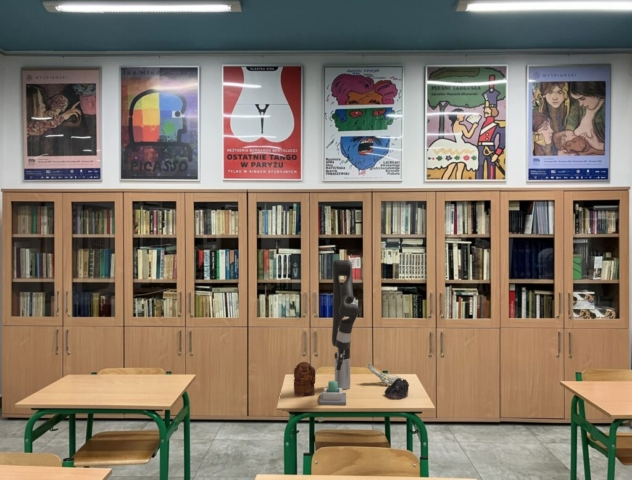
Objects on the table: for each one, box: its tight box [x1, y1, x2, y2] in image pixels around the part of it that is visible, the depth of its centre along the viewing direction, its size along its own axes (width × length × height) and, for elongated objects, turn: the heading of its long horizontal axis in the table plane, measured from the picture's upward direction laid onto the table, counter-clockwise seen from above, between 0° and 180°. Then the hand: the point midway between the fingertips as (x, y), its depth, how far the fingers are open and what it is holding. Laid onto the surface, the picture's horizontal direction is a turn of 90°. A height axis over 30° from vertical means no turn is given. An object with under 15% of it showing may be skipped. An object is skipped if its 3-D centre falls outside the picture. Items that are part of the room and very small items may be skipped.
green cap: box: [327, 380, 338, 393], centre depth 266 cm, size 5×5×8 cm
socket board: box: [318, 387, 347, 406], centre depth 266 cm, size 17×14×5 cm
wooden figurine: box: [293, 361, 316, 397], centre depth 276 cm, size 12×6×18 cm, turn 100°
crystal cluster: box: [384, 377, 410, 400], centre depth 273 cm, size 13×14×10 cm
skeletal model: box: [366, 362, 404, 386], centre depth 297 cm, size 16×9×25 cm
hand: (338, 366), depth 269 cm, fingers open, 8 cm apart
